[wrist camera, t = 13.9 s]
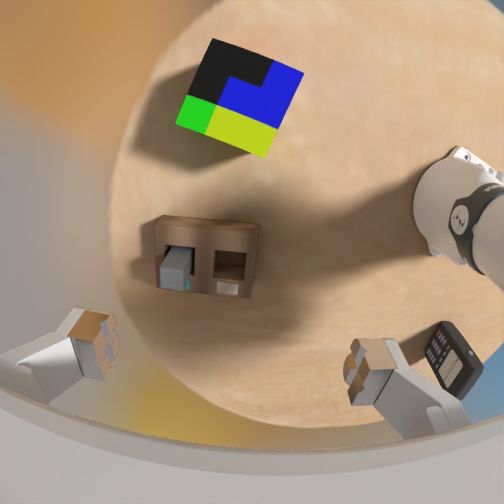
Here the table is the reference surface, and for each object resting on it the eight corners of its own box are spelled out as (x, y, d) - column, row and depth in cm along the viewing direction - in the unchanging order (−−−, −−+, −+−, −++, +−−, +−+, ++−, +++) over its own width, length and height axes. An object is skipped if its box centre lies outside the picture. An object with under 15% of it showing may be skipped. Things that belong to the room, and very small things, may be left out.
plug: (195, 241, 45) (183, 270, 37) (195, 259, 47) (183, 290, 39) (176, 239, 45) (159, 267, 37) (176, 257, 47) (160, 287, 38)
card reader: (439, 318, 52) (473, 369, 38) (452, 319, 52) (487, 367, 38) (421, 353, 56) (448, 405, 42) (434, 352, 56) (462, 402, 42)
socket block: (258, 224, 44) (258, 235, 40) (251, 284, 48) (250, 299, 45) (162, 215, 44) (154, 225, 40) (163, 274, 48) (156, 288, 44)
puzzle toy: (292, 83, 36) (304, 73, 27) (262, 148, 40) (264, 158, 31) (222, 55, 34) (212, 38, 25) (193, 121, 38) (175, 123, 29)
